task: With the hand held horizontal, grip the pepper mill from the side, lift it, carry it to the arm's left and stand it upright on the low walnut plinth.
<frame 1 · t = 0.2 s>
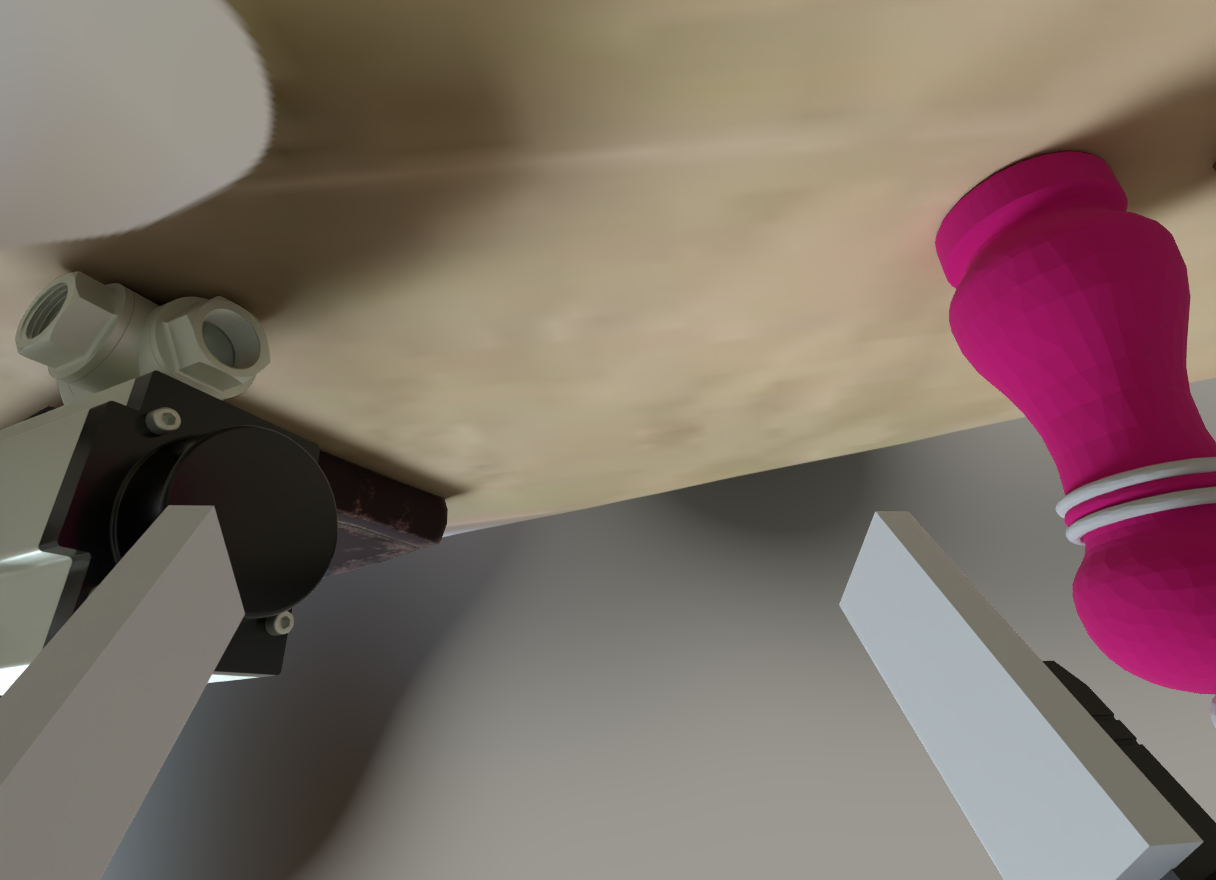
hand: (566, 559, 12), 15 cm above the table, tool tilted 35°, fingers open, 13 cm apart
diary: (242, 469, 46), on the table
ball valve: (163, 314, 28), on the table
pepper mill: (1015, 210, 25), on the table
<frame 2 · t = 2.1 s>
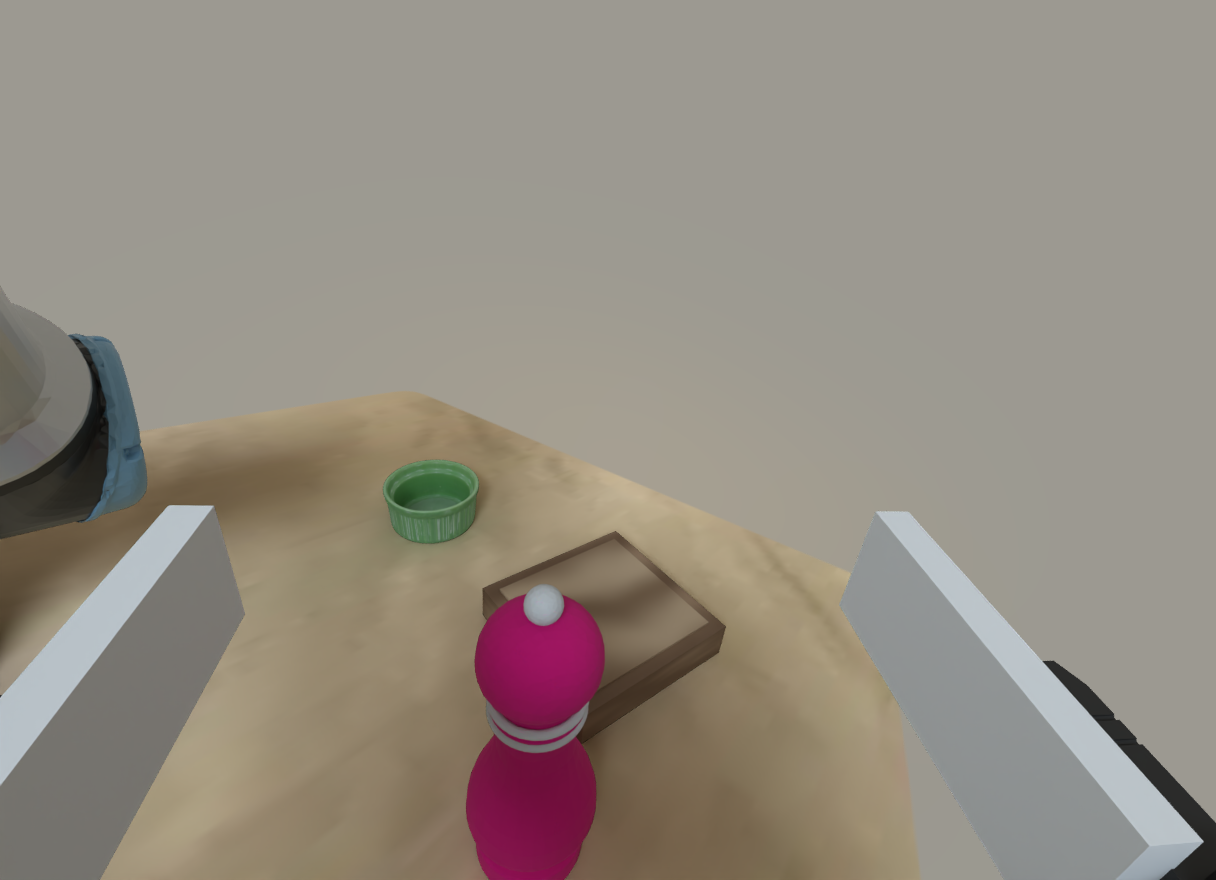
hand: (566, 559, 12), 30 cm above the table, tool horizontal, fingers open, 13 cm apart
plinth: (599, 633, 50), on the table
pepper mill: (529, 838, 36), on the table
ramekin: (434, 521, 61), on the table
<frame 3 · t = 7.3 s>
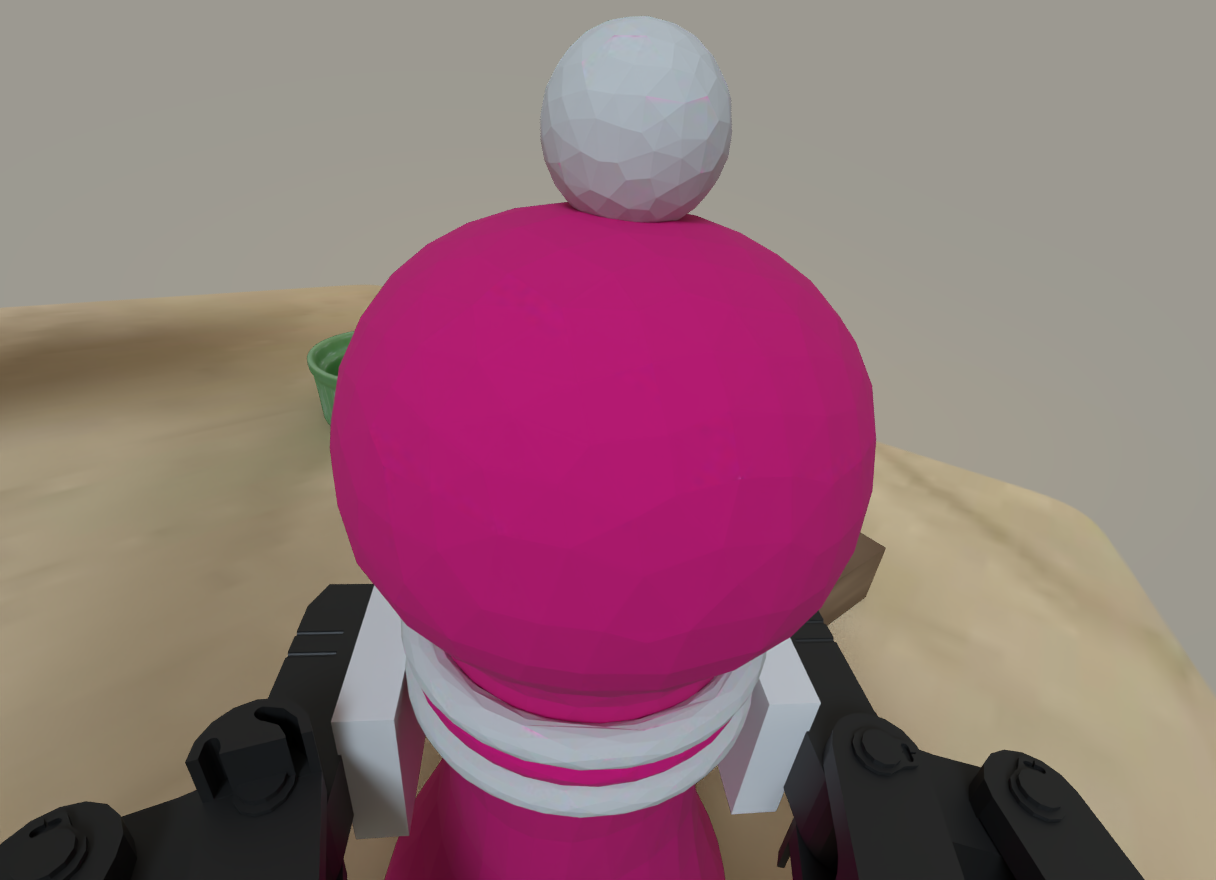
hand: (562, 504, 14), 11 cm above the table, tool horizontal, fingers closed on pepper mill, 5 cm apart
plinth: (658, 565, 29), on the table
ramekin: (391, 416, 40), on the table
when the fingers open (15 cm above the table, at t = 10.5 s): pepper mill drops 1 cm, resting on plinth.
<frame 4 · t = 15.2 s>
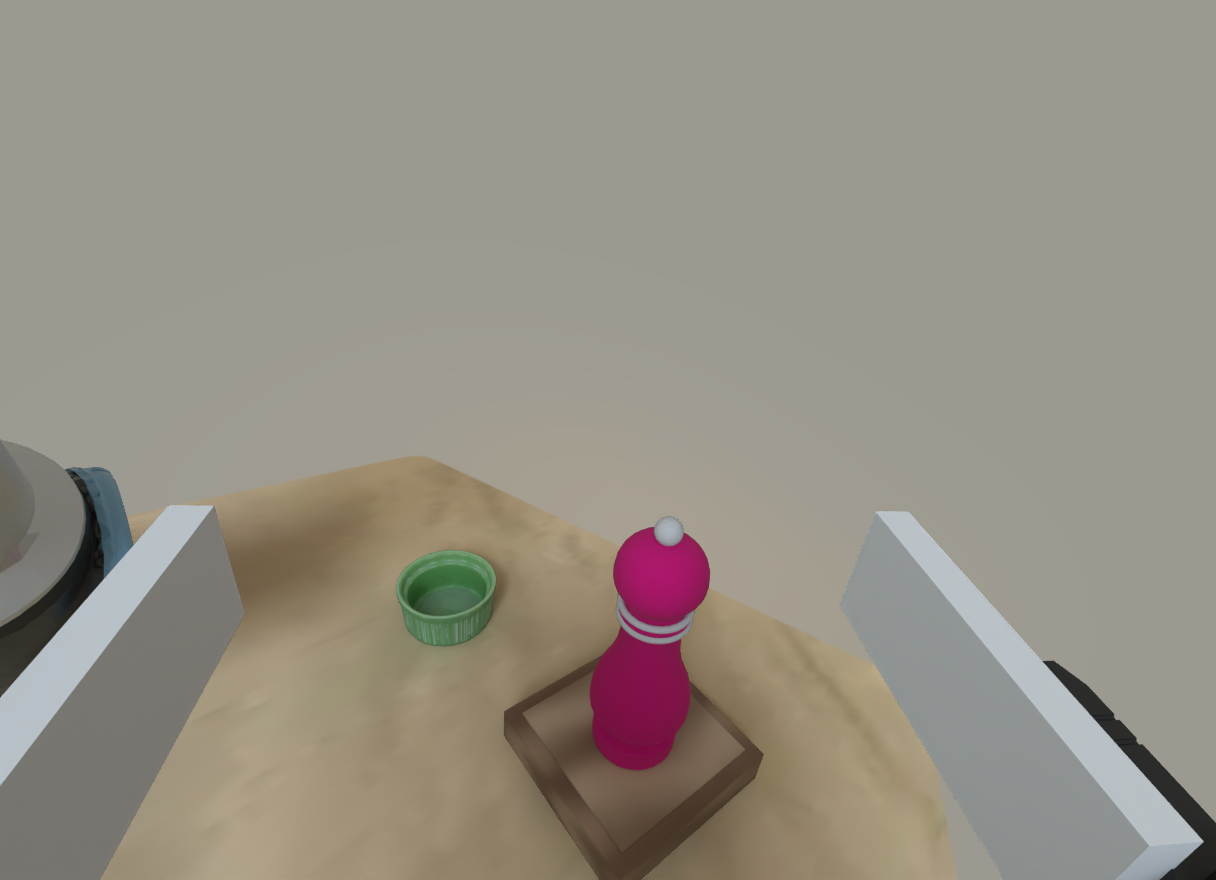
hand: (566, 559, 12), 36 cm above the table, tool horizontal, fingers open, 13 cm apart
plinth: (628, 756, 47), on the table
pepper mill: (632, 732, 45), point 3 cm above the table, touching plinth
ramekin: (449, 616, 58), on the table
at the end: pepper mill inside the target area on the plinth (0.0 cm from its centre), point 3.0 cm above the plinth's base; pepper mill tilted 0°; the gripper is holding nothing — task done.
